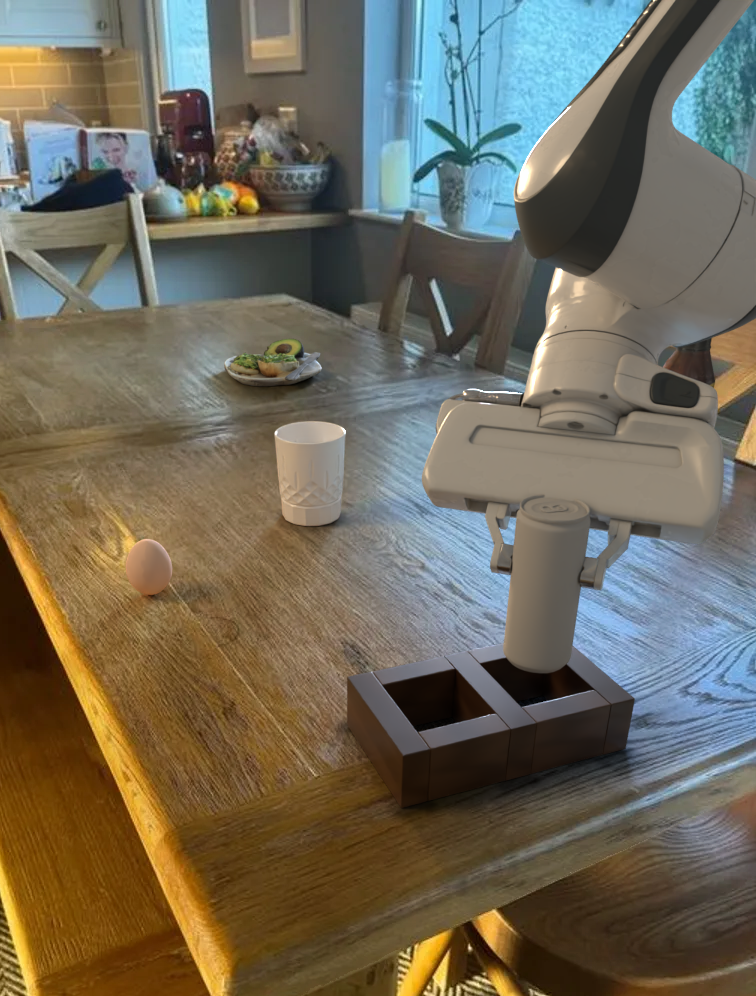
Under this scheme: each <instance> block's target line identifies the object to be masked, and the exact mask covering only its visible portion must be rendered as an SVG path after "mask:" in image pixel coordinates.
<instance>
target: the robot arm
mask: <svg viewBox="0 0 756 996" xmlns="http://www.w3.org/2000/svg"><path fill="white" fill-rule="evenodd" d="M754 1H755V0H650V1H649V3H647V5H646V6H645V8H644V9H643V10H642V11H641V13H640V15H638V17H637V18H636V20H635V21H634V22H633V24H632V25H631V26H630V28H629V29H628V30H627V32H626V33H625V34H624V36H623V37H622V38H621V39H620V41H619V42H618V44H617V45H616V46H615V48H614V49H613V50H612V52H610V54H609V55H608V57H607V58H606V60H605V61H604V62H603V64H602V65H601V66H600V67H599V68H598V69H597V71H596V72H595V74H594V75H593V76H592V77H591V78H590V79H589V80H588V82H587V83H586V84H584V86H583V87H582V88H581V89H580V90H579V92H578V93H577V94H576V95H575V96H574V97H573V98H572V99H571V100H570V102H569V103H568V104H567V105H566V106H565V107H564V109H563V110H562V111H561V112H560V113H559V115H557V117H556V118H555V119H554V120H553V122H552V123H551V124H550V125H549V126H548V127H547V129H546V130H545V131H544V132H543V134H542V135H541V136H540V138H539V139H538V141H537V142H536V143H535V145H534V146H533V148H532V149H531V151H530V152H529V154H528V156H527V157H526V159H525V160H524V163H523V165H522V167H521V169H520V171H519V173H518V176H517V178H516V181H515V184H514V188H513V201H514V202H513V203H514V209H515V215H516V220H517V224H518V228H519V231H520V234H521V237H522V240H523V242H524V245H525V247H526V249H527V252H528V254H529V255H530V256H531V257H532V258H533V259H534V260H535V259H536V260H537V261H539V262H542V263H544V264H546V265H549V266H551V267H554V268H555V269H554V272H553V275H552V277H551V278H552V279H551V282H550V284H549V285H550V286H549V290H548V293H547V297H546V302H545V320H546V321H545V327H544V331H543V333H542V335H541V336H540V338H539V339H538V342H537V343H536V344H535V345H536V346H535V348H534V351H533V355H532V359H531V362H530V368H529V371H528V376H527V379H526V384H525V389H524V392H523V393H520V392H519V393H518V392H511V391H510V392H509V391H483V390H481V389H477V388H468V389H464V390H463V392H461V393H457V394H454V395H452V396H450V397H448V398H447V399H445V400H444V401H443V402H442V403H441V407H440V408H439V412H438V414H437V415H438V416H437V419H436V422H435V433H436V436H435V437H434V440H433V442H432V445H431V447H430V450H429V452H428V455H427V457H426V460H425V462H424V463H425V464H424V467H423V470H422V473H421V483H422V488H423V490H424V492H425V494H426V495H427V498H428V499H429V500H430V502H431V503H432V505H433V506H434V507H438V508H442V509H449V510H457V511H464V512H471V513H476V514H483V515H484V518H485V519H484V520H485V522H486V525H487V528H488V531H489V534H490V537H491V540H492V543H493V549H492V552H491V557H490V561H489V570H490V571H491V573H493V574H500V575H504V576H511V568H512V557H513V547H514V544H510V543H505V541H504V538H503V536H502V532H501V530H503V531H506V530H508V528H509V524H510V520H511V519H516V517H517V512H518V510H519V509H520V503H521V501H522V500H523V499H525V498H527V497H530V496H533V495H540V494H544V495H545V496H544V497H543V498H556V499H563V500H569V501H574V502H575V499H578V500H581V501H583V502H584V503H586V504H587V505H588V507H589V509H590V513H589V516H590V529H589V530H593V531H600V532H607V546H606V547H605V548H604V549H603V550H602V551H601V552H600V553H599V554H598V556H597V557H594V556H593V557H591V556H585V559H584V562H583V570H582V571H581V575H580V582H579V584H580V587H581V588H583V589H588V590H594V591H602V590H603V587H604V583H605V579H606V573H607V569H610V568H611V567H612V565H614V564H615V563H616V562H617V560H618V559H619V558H620V557H621V556H623V554H625V552H626V551H627V550H628V549H629V545H630V541H631V537H632V536H633V537H640V538H649V539H654V540H661V541H667V542H675V543H681V544H687V545H688V544H689V545H696V546H698V545H702V544H704V543H705V542H706V541H707V540H709V539H710V538H711V537H712V536H714V535H715V533H716V531H717V528H718V526H719V525H718V524H719V519H720V515H721V510H722V509H721V508H722V501H723V492H724V479H725V478H724V476H725V467H724V465H725V464H724V463H725V461H724V456H725V455H724V446H723V442H722V439H721V436H720V434H719V433H718V431H717V430H716V429H715V427H716V423H717V418H718V409H719V397H718V396H719V395H718V391H717V389H716V388H715V387H714V388H713V387H712V386H710V385H708V384H705V383H703V382H700V381H697V380H695V379H692V378H689V377H686V376H684V375H681V374H679V373H676V372H673V371H671V370H668V369H666V368H664V367H663V366H661V365H659V358H660V356H661V354H662V353H663V351H664V350H666V349H667V348H668V347H672V348H676V347H684V346H688V345H691V344H695V343H698V342H701V341H704V340H707V339H710V338H712V339H713V338H717V337H719V336H721V335H724V334H727V333H729V332H732V331H734V330H736V329H739V328H741V327H743V326H745V325H747V324H749V323H750V322H752V321H754V320H756V178H754V177H752V176H751V175H750V174H748V173H746V172H745V171H743V170H742V169H740V168H739V167H737V166H736V165H734V164H730V163H728V162H726V160H724V159H722V158H720V157H719V156H717V155H716V154H715V153H713V152H711V151H710V150H708V149H707V148H706V147H704V146H703V145H701V144H699V143H697V141H695V140H693V138H690V137H689V136H687V135H686V134H684V133H682V132H681V131H680V130H678V129H677V127H675V125H674V122H673V110H674V107H675V103H676V102H677V100H678V98H679V97H680V96H681V94H682V93H683V92H684V90H685V89H686V88H687V87H688V85H689V84H690V83H691V81H692V80H693V79H694V78H695V77H696V76H697V74H698V73H699V72H700V70H701V69H702V67H703V66H704V65H705V64H706V63H707V61H708V60H709V59H710V57H711V56H712V55H713V53H714V52H715V51H716V50H717V48H718V47H719V46H720V44H721V43H722V42H723V41H724V39H725V38H726V37H727V35H728V34H729V33H730V32H731V30H732V29H733V28H734V27H735V25H736V24H737V23H738V21H739V20H740V19H741V18H742V17H743V15H744V14H745V13H746V11H747V10H748V9H749V8H750V6H751V5H752V4H753V2H754Z"/></svg>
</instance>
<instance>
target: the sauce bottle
mask: <svg viewBox="0 0 756 996" xmlns="http://www.w3.org/2000/svg"><path fill="white" fill-rule="evenodd" d="M712 339H713V338H710V339H707V340H704V341H701V342H698V343H695V344H691V345H688V346H684V347H675V350H674V351H673V353H672V354H671V355H670V357H668V358H667V359H666V361H665V362H664V364H663V366H662V367H664V368H666V369H668V370H671V371H673V372H676V373H679V374H681V375H684V376H686V377H689V378H692V379H695V380H697V381H700V382H703V383H705V384H708V385H710V386H712V387H713V388H714V389H715V385H716V377H715V373H714V372H715V371H714V366H713V361H712V353H711V349H712Z"/></svg>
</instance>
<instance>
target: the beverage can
mask: <svg viewBox="0 0 756 996" xmlns="http://www.w3.org/2000/svg"><path fill="white" fill-rule="evenodd" d="M544 496H545V495H544V494H540V495H533V496H530V497H527V498H525V499H523V500H522V501H521V503H520V509H519V510H518V512H517V517H516V518H515V527H514V538H513V545H514V547H513V557H512V568H511V575H510V579H509V587H508V588H509V589H508V596H507V597H508V598H507V605H506V606H507V607H506V608H507V609H506V618H505V627H504V636H503V643H504V646H503V652H504V654H505V656H506V658H507V659H508V660H509V661H510V662H511V664H512V665H514V666H515V667H517V668H519V669H521V670H524V671H528V672H533V673H551V672H555V671H557V670H559V669H561V668H562V667H563V666H565V665H566V664H567V663H568V662H569V660H570V658H571V653H572V646H574V639H575V633H576V625H577V617H578V611H579V604H580V597H581V590H582V587H580V584H579V582H580V575H581V571H582V570H583V562H584V559H585V557H587V556H586V555H587V550H588V542H589V536H590V530H591V529H590V516H589V513H590V509H589V507H588V505H587V504H586V503H584V502H583V501H581V500H578V499H575V502H574V501H569V500H563V499H556V498H543V497H544Z"/></svg>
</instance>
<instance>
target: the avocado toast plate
mask: <svg viewBox="0 0 756 996" xmlns="http://www.w3.org/2000/svg"><path fill="white" fill-rule="evenodd" d="M320 356H321V353H320V352H316V351H315V352H314V351H313V352H312V353H308V352H305V348H304V344H303V343H302V342H301V341H300V339H297V338H282V339H279V340H275V341H273V342H271V343H270V344H269V345H268V346H266V349H265V351H263V353H262V354H261V353H260V354H259V353H256V354H251V353H247V352H243V353H242V354H241V353H240V354H238V355H235V356H231V357H229V358H227V359H226V360H224V364H223V366H224V367H223V368H224V370H225V371H226V372H227V374H228V375H229V376H230V377H231V378H233V379H234V380H236V381H237V382H239V383H241V384H242V385H246V386H253V387H274V386H287V385H288V386H289V385H294V384H297V383H299V382H303V381H306V380H307V379H310V378H312V377H314V376H316V375H318V374H320V373H321V371H322V369H323V367H322V365H321V364H320V363H319V362H318V359H320Z"/></svg>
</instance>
